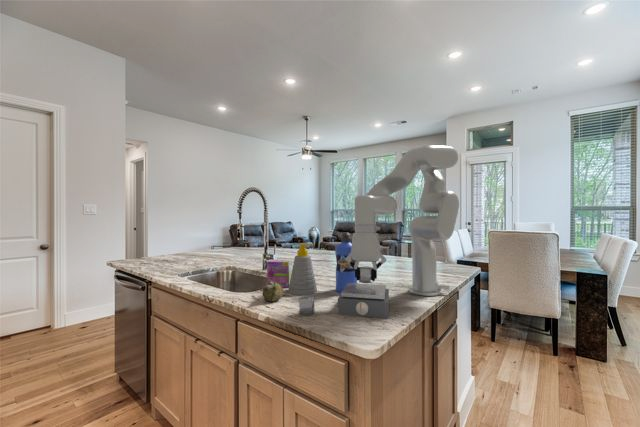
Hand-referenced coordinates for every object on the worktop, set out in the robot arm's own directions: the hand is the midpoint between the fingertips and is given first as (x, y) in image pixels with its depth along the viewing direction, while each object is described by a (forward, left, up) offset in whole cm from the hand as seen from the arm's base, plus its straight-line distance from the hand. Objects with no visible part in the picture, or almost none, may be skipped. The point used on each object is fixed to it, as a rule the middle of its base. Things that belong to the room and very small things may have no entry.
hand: (365, 279), depth 104 cm
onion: (+35, +3, -9) cm, 36 cm away
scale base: (0, +4, -9) cm, 10 cm away
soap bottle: (+28, -12, -9) cm, 32 cm away
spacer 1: (+18, +14, -9) cm, 24 cm away
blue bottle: (+10, -17, -9) cm, 22 cm away
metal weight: (0, 0, -1) cm, 1 cm away
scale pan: (0, +4, -4) cm, 5 cm away
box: (+41, -18, -9) cm, 46 cm away
